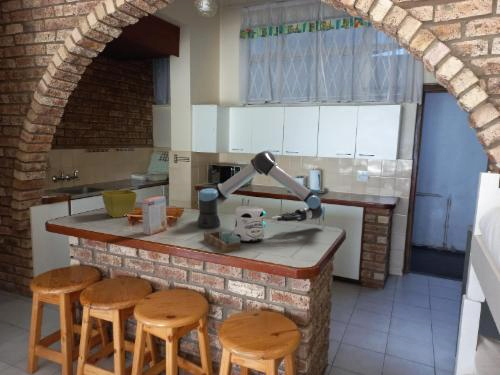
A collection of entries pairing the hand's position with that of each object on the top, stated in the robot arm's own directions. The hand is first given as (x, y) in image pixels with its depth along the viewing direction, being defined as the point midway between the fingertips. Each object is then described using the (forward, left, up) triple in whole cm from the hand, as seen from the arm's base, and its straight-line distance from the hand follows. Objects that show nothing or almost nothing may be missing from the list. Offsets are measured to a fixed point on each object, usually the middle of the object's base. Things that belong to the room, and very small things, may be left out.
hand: (272, 219), depth 207 cm
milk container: (0, -16, -10) cm, 18 cm away
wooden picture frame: (0, -34, -10) cm, 35 cm away
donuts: (-21, +4, -10) cm, 24 cm away
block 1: (-5, -28, -10) cm, 30 cm away
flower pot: (-95, -65, -10) cm, 115 cm away
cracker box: (-41, -57, -10) cm, 71 cm away
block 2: (+4, -28, -10) cm, 29 cm away
